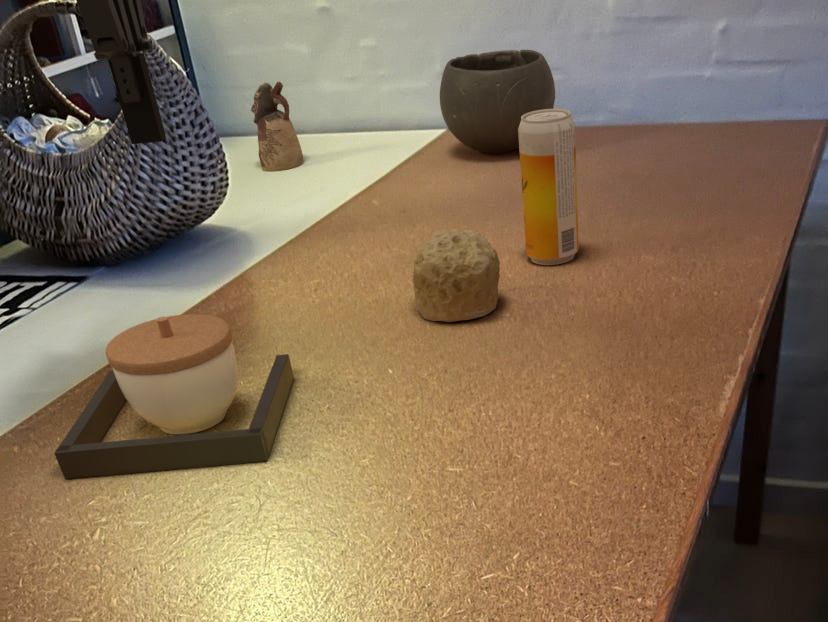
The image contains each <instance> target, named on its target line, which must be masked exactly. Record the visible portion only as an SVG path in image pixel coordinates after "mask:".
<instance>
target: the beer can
mask: <svg viewBox="0 0 828 622" xmlns="http://www.w3.org/2000/svg"><path fill="white" fill-rule="evenodd" d="M518 135H519V148H518V149H519V165H520V179H521V195H522V211H523V223H524V224H523V226H524V240H525V243H524V244H525V254H526V255H527V256H528V257H529V259H530V260H531V262H532V263H534V264H535V265H541V266H555V265H561V264H565V263H568V262H570V261H572V260H573V259H574V258H575V255H576V254H577V252H578V251H579V249H580V246H579V243H580V242H579V217H578V215H579V213H578V211H579V210H578V185H577V184H578V183H577V182H578V181H577V151H576V147H577V146H576V124H575V121H574V119H573V117H572V112H571V111H570V110H568V109H564V108H553V109H543V110H537V111H532V112H529V113H526V114H524V115H522V116H521V122H520V125H519V128H518Z"/></svg>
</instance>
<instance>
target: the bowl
mask: <svg viewBox="0 0 828 622" xmlns="http://www.w3.org/2000/svg"><path fill="white" fill-rule="evenodd" d="M555 100H556V85H555V81H554V76H553V73H552V70H551V67H550V65H549V62H548V61H547V59H546V57H545V56H544V55H543V54H542V52H540V51H536V50H533V49H519V50H517V49H510V50H509V49H504V50H494V51H489V52H482V53H479V54H477V53H472V54H470V53H469V54H466V55H463V56H457V57H454V58H452V59H450V60H448V61H447V63H446V65H445V67H444V68H443V72H442V76H441V81H440V86H439V106H440V112H441V115H442V118H443V121H444V123H445V126H446V127H447V128H448V130H449V132H450V133H451V134H452V135H453V136H454V138H456V139H457V141H459V142H460V143H461V144H463V145H464V146H466V147H468V148H470V149H472V150H474V151H477V152H481V153H486V154H501V153H502V154H503V153H507V152H511V151H514V150H516V149H519V135H518V128H519V125H520V122H521V116H522V115H524V114H526V113H529V112H532V111H537V110H543V109H555V108H554V106H555Z"/></svg>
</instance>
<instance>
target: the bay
mask: <svg viewBox="0 0 828 622" xmlns="http://www.w3.org/2000/svg"><path fill="white" fill-rule="evenodd" d="M294 379H295V375H294V371H293V368H292V363H291V359H290V355H289V353H285V354H276V355H275V358H274V361H273V363H272V366H271V369H270V372H269V374H268V377H267V379H266V382H265V384H264V388H263V390H262V393H261V396H260V398H259V401H258V403H257V406H256V408H255V412H254V414H253V417H252V419H251V422H250V424H249V427H248V428H246V429H245V428H244V429H234V430H224V431H223V430H222V431H211V432H199V433H192V434H183V435H169V436H159V437H147V438H135V439H125V440H113V441H102V440H103V438H104V437H105V435H106V433H107V432H108V430H109V428H110V427H111V425H112V423H113V422H114V421H115V419H116V417H117V415H118V414H119V412H120V411H121V409H122V407H124V404H125V402H126V401H127V400H126V398H125V397H124V395H123V393H122V391H121V389H120V387H119V385H118V382H117V380H116V377H115V374H114V372H113V370H110V371H109V372H108V373H107V374H106V376H105V378H104V379H103V381H102V382H101V383H100V385H99V386H98V388H97V389H96V390H95V392H94V394H93V396H92V397H91V398H90V399H89V401H88V402H87V404H86V406H85V407H84V409H83V410H82V412H81V413H80V415H79V416H78V417H77V419H76V420H75V422H74V423H73V425H72V426H71V428H70V429H69V431H68V432H67V434H66V435H65V436H64V438H63V439H62V441H61V442H60V444H59V446H58V447H57V448H56V449H55V451H54V453H53V454H54V457H55V459H56V461H57V464H58V466H59V468H60V470H61V473H62V476H63V478H64V479H65V480H70V479H72V480H73V479H81V478H94V477H103V476H105V477H106V476H115V475H116V476H117V475H125V474H126V475H127V474H139V473H148V472H149V473H150V472H159V471H173V470H182V469H195V468H205V467H217V466H228V465H239V464H251V463H261V462H268V459H269V456H270V452H271V450H272V446H273V444H274V441H275V438H276V434H277V432H278V428H279V425H280V422H281V419H282V417H283V413H284V409H285V407H286V404H287V401H288V397H289V395H290V392H291V389H292V386H293V382H294ZM101 441H102V442H101Z"/></svg>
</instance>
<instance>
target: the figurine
mask: <svg viewBox="0 0 828 622" xmlns="http://www.w3.org/2000/svg"><path fill="white" fill-rule="evenodd" d="M283 87H284V84H283V83H282V82H281V81H279V80H278V81H276V83H275V85H274V87H273V86H272V85H271V84H270V83H269V82H263V83H262V84H260V85H259V86H258V88H257V89H256V91H255V92H254V95H253V104H252V105H251V108H250V109H251V110H250V111H251V112H252V113H253V114H254V118H253V121H252V122H253V124H255V125H256V127H257V131H256V132H257V133H256V134H257V143H258V159H259V163H260V168H261V170H262V171H265V172H277V171H284V170H289V169H293V168H297V167H299V166H301V165H302V164H303V162H304V155H303V150H302V146H301V143H300V139H299V138H298V135H297V132H296V130H295V127H294V125H293V122H292V120H291V119H290V105H289V102H288V100H287V99H286V97H285V96H284V95H282V90H283ZM278 105H282V108H283V109H284V110H283V111H282V110H280V109H278Z"/></svg>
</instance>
